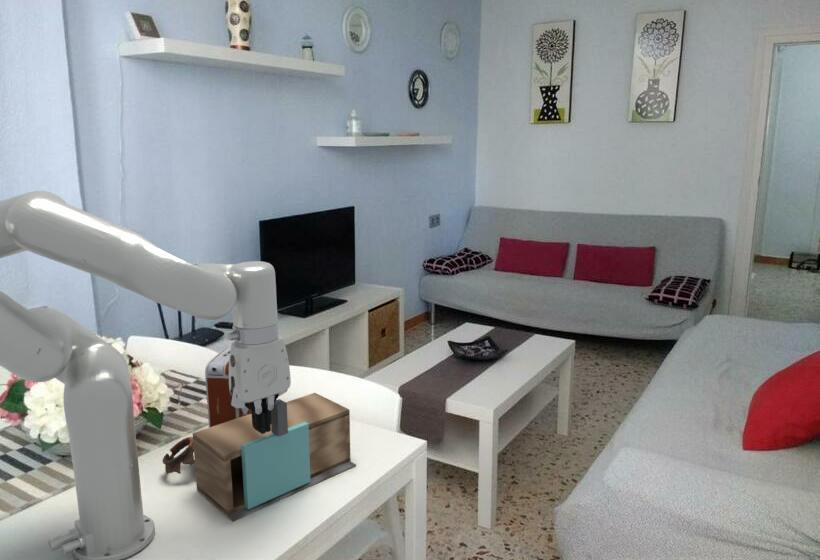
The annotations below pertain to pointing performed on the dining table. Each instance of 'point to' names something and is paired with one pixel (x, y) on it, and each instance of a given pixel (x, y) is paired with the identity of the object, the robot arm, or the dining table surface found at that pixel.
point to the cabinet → (223, 442)
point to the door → (276, 459)
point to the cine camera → (220, 391)
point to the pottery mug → (179, 456)
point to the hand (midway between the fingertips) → (262, 430)
